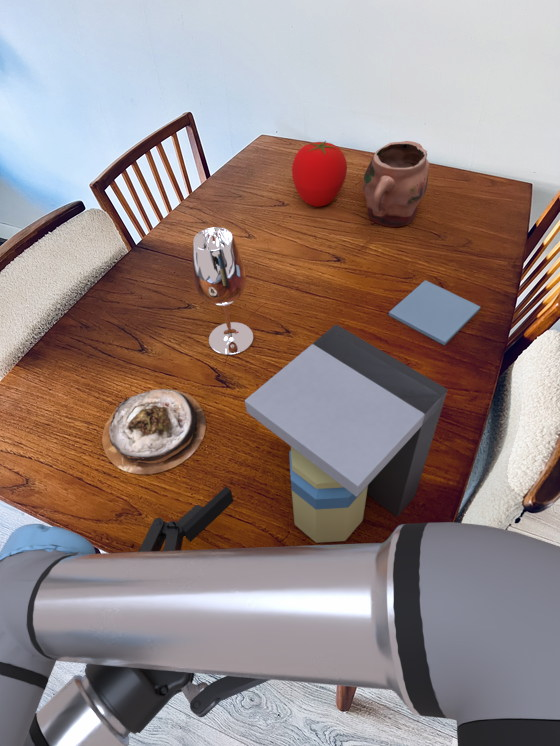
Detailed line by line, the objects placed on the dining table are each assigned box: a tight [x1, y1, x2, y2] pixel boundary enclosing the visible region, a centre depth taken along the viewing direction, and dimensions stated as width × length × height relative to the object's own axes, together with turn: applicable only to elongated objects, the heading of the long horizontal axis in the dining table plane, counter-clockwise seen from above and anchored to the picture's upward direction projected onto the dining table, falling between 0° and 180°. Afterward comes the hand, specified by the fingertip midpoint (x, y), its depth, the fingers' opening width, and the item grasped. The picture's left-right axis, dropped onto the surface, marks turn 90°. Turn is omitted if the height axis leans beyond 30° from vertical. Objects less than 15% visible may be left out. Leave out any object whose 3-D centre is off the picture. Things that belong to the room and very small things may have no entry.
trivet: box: [388, 279, 481, 346], centre depth 88 cm, size 11×11×1 cm
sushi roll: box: [101, 388, 207, 475], centre depth 74 cm, size 15×15×4 cm
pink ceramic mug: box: [362, 140, 431, 228], centre depth 102 cm, size 20×12×14 cm, turn 155°
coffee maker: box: [244, 324, 448, 518], centre depth 59 cm, size 14×14×22 cm
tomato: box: [291, 140, 348, 208], centre depth 108 cm, size 11×11×13 cm
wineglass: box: [192, 226, 254, 356], centre depth 80 cm, size 8×8×20 cm
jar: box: [288, 446, 368, 544], centre depth 60 cm, size 9×9×15 cm
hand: (273, 532), depth 55 cm, fingers open, 13 cm apart
